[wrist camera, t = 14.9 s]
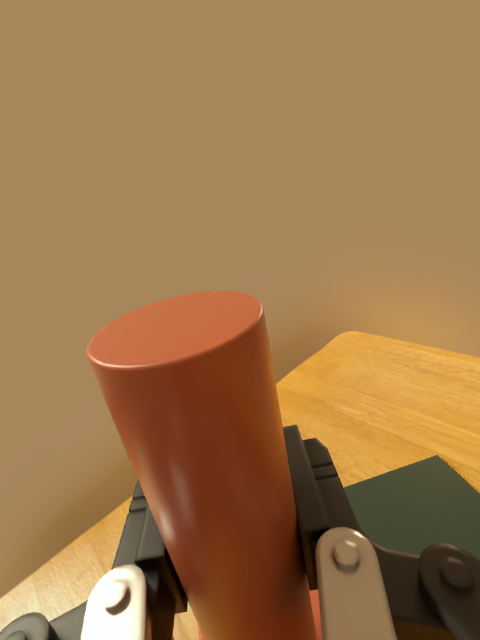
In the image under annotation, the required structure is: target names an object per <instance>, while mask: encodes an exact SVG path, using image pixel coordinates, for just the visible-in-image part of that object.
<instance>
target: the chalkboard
mask: <svg viewBox="0 0 480 640" xmlns="http://www.w3.org/2000/svg"><path fill="white" fill-rule="evenodd" d="M344 491H345V493H346V495H347V498H348V500H349V503H350V505H351V508H352V510H353V512H354V515H355V517H356V520H357V522H358V524H359V526H360V528H361V529H362V531H363V532H364V533H365V534H366V535H367V536H368V537H369V538H370V539H371V540H372V541H374V542H375V543H377V544H378V545H380V546H382V547H384V548H387V549H390V550H394V551H399V552H405V553H410V554H416V555H421V553H422V551H423V550H424V549H425V548H426V547H428V546H430V545H433V544H438V543H446V544H451V545H454V546H457V547H459V548H462V549H464V550H466V551H467V552H469V553H470V554H472V555H473V556H474V557H476V558H477V559H478V560H479V561H480V494H479V493H478V492H477V491H476V490H475V489H474V488H473V487H472V486H470V485H469V484H468V483H467V482H466V481H465V480H464V479H463V478H462V477H461V476H460V475H458V474H457V473H456V472H455V471H454V470H453V469H452V468H451V467H450V466H449V465H447V464H446V463H445V462H444V461H443V460H442V459H441V458H440V457H439V456H438V455H436V456H433V457H430V458H427V459H425V460H422V461H419V462H416V463H413V464H410V465H407V466H404V467H402V468H399V469H396V470H393V471H390V472H387V473H384V474H381V475H379V476H376V477H373V478H370V479H367V480H364V481H361V482H358V483H356V484H353V485H350V486H347V487H344Z"/></svg>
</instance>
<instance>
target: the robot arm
mask: <svg viewBox="0 0 480 640" xmlns="http://www.w3.org/2000/svg"><path fill="white" fill-rule="evenodd" d="M283 432H284V439H285V445H286V451H287V457H288V463H289V469H290V476H291V482H292V488H293V494H294V500H295V506H296V516H297V522H298V528H299V535H300V541H301V547H302V553H303V559H304V566H305V572H306V576H307V581H308V585H309V590H310V591H311V590H317V589H318V594H319V607H320V620H321V634H322V640H480V561H479V560H478V559H477V558H476V557H474V556H473V555H472V554H470V553H469V552H467V551H466V550H464V549H462V548H459V547H457V546H454V545H451V544H446V543H438V544H433V545H430V546H428V547H426V548H425V549H424V550H423V551H422V553H421V555H416V554H410V553H405V552H399V551H394V550H390V549H387V548H384V547H382V546H380V545H378V544H377V543H375V542H374V541H372V540H371V539H370V538H369V537H368V536H367V535H366V534H365V533H364V532H363V531H362V529H361V528H360V526H359V524H358V522H357V520H356V517H355V515H354V512H353V510H352V508H351V505H350V503H349V500H348V498H347V495H346V493H345V491H344V488H343V486H342V483H341V481H340V478H339V477H338V474H337V471H336V469H335V466H334V465H333V461H332V459H331V457H330V454H329V452H328V449H327V448H326V447H325V446H324V445H323V444H322V443H321V442H320V441H319V440H318V439H317V438H313V439H307V440H302V438H301V435H300V432H299V429H298V426H297V425H292V426H287V427H283ZM187 605H188V599H187V596H186V594H185V592H184V589H183V587H182V584H181V582H180V579H179V577H178V575H177V572H176V570H175V567H174V565H173V563H172V560H171V558H170V555H169V553H168V551H167V548H166V546H165V543H164V541H163V538H162V536H161V534H160V531H159V529H158V526H157V524H156V522H155V519H154V517H153V514H152V512H151V510H150V507H149V505H148V502H147V500H146V498H145V495H144V493H143V490H142V488H141V485H140V483H139V481H138V482H137V484H136V487H135V491H134V494H133V501H131V505H130V508H129V514H128V515H127V519H126V522H125V526H124V529H123V532H122V536H121V539H120V543H119V546H118V550H117V553H116V557H115V560H114V564H113V567H112V570H111V571H110V572H108V573H107V574H106V575H105V576H104V577H103V578H102V579H101V580H100V581H99V582H98V583H97V585H96V586H95V588H94V589H93V591H92V593H91V595H90V597H89V599H88V600H87V601H86V602H84V603H83V604H81V605H79V606H78V607H76V608H74V609H72V610H70V611H68V612H66V613H65V614H63V615H61V616H59V617H57V618H55V619H53V620H52V621H50V622H48V620H47V619H46V618H45V616H44V615H42V614H41V613H28V614H25V615H23V616H21V617H19V618H17V619H15V620H14V621H12V622H11V623H10V624H9V625H7V626H6V627H5V628H4V629H3V630H2V631H1V632H0V640H174V638H173V626H174V617H175V614H176V613H182V612H187Z"/></svg>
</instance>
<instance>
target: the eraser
mask: <svg viewBox="0 0 480 640" xmlns="http://www.w3.org/2000/svg"><path fill="white" fill-rule="evenodd" d="M87 358H88V360H89V363H90V365H91V367H92V370H93V372H94V375H95V377H96V379H97V382H98V384H99V387H100V389H101V391H102V394H103V396H104V399H105V401H106V404H107V406H108V408H109V411H110V413H111V415H112V418H113V420H114V423H115V425H116V428H117V430H118V432H119V435H120V437H121V440H122V442H123V445H124V447H125V449H126V451H127V454H128V456H129V459H130V461H131V464H132V466H133V469H134V471H135V473H136V476H137V478H138V481H139V483H140V485H141V488H142V490H143V493H144V495H145V498H146V500H147V502H148V505H149V507H150V510H151V512H152V514H153V517H154V519H155V522H156V524H157V526H158V529H159V531H160V534H161V536H162V538H163V541H164V543H165V546H166V548H167V551H168V553H169V555H170V558H171V560H172V563H173V565H174V567H175V570H176V572H177V575H178V577H179V579H180V582H181V584H182V587H183V589H184V592H185V594H186V596H187V599H188V601H189V604H190V606H191V608H192V611H193V613H194V616H195V618H196V620H197V623H198V629H199V640H322V634H321V620H320V607H319V594H318V589H317V590H311V591H310V590H309V585H308V581H307V576H306V572H305V566H304V559H303V553H302V547H301V541H300V535H299V528H298V522H297V516H296V506H295V500H294V494H293V488H292V482H291V476H290V469H289V463H288V457H287V451H286V445H285V439H284V432H283V426H282V420H281V414H280V408H279V402H278V396H277V389H276V383H275V377H274V371H273V365H272V359H271V353H270V346H269V340H268V334H267V328H266V322H265V315H264V310H263V307H262V305H261V303H260V302H259V301H258V300H257V299H256V298H254V297H252V296H250V295H247V294H244V293H239V292H231V291H210V292H199V293H192V294H187V295H182V296H177V297H172V298H169V299H165V300H161V301H158V302H155V303H152V304H149V305H146V306H144V307H141V308H139V309H136V310H134V311H131V312H129V313H127V314H125V315H123V316H122V317H119V318H118V319H116V320H114V321H113V322H111V323H109V324H108V325H106V326H105V327H104V328H102V329H101V330H100V331H99V332H98V333H96V334H95V336H94V337H93V338H92V339H91V341H90V342H89V344H88V347H87Z"/></svg>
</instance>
